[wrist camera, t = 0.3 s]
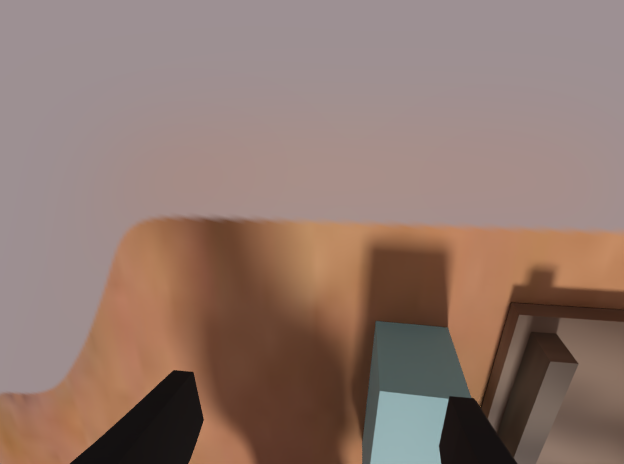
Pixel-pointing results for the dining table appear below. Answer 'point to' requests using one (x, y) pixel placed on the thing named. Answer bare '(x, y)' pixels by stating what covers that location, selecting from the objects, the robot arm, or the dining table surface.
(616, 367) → the cradle
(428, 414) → the tall teal pillar block
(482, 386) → the dining table surface
